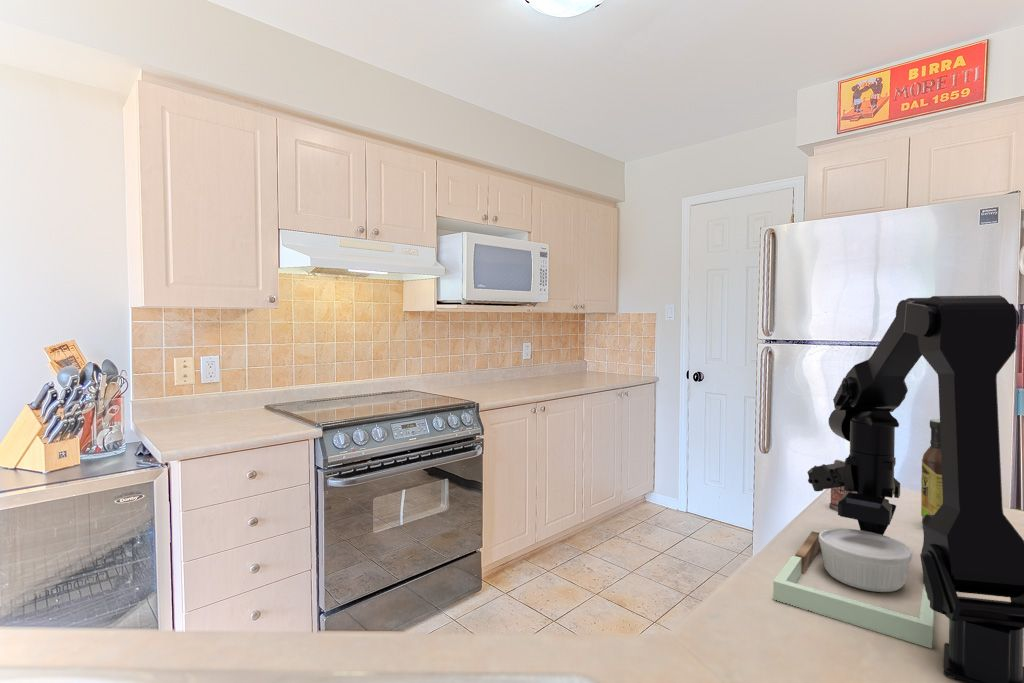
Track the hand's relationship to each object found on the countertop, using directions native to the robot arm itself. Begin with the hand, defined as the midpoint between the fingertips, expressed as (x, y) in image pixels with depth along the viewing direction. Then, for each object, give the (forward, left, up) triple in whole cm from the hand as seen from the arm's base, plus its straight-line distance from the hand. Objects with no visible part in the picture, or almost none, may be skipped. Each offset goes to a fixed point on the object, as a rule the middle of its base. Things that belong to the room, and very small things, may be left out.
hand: (870, 550), depth 81 cm
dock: (-18, 0, -1) cm, 18 cm away
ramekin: (-8, 0, -2) cm, 8 cm away
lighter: (+23, +6, -2) cm, 24 cm away
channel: (-6, 0, -1) cm, 6 cm away
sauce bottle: (+23, -8, -2) cm, 25 cm away
